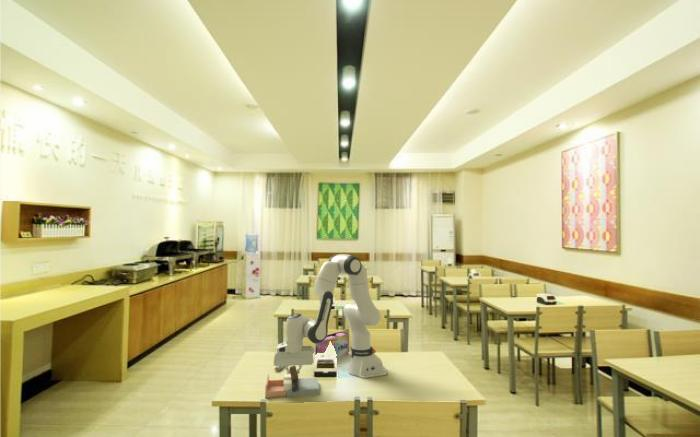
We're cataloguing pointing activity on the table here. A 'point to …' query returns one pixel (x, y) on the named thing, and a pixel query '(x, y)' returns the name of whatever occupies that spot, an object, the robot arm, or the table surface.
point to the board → (306, 387)
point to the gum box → (334, 344)
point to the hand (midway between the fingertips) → (293, 373)
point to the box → (274, 388)
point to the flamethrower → (279, 368)
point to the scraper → (294, 379)
